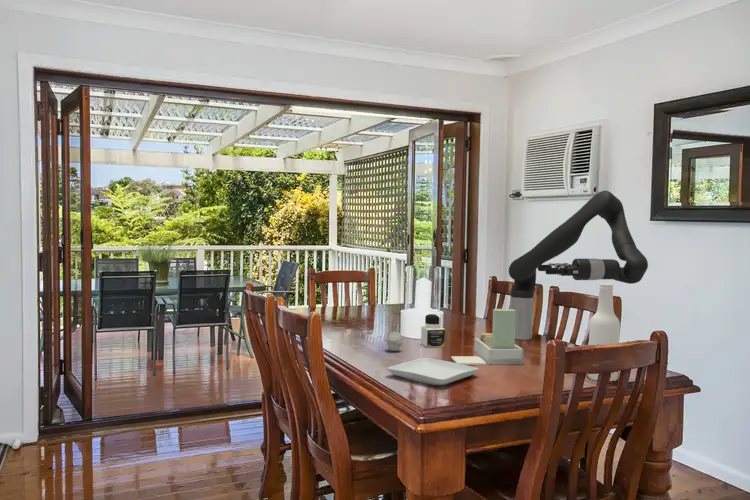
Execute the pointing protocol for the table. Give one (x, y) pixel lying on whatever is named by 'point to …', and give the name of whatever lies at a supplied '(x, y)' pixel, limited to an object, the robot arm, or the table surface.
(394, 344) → the frog figurine
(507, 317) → the board
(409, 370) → the salad plate
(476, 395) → the table surface
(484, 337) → the offcut upper
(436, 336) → the medicine bottle
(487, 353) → the tray
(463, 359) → the pad
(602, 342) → the alcohol
